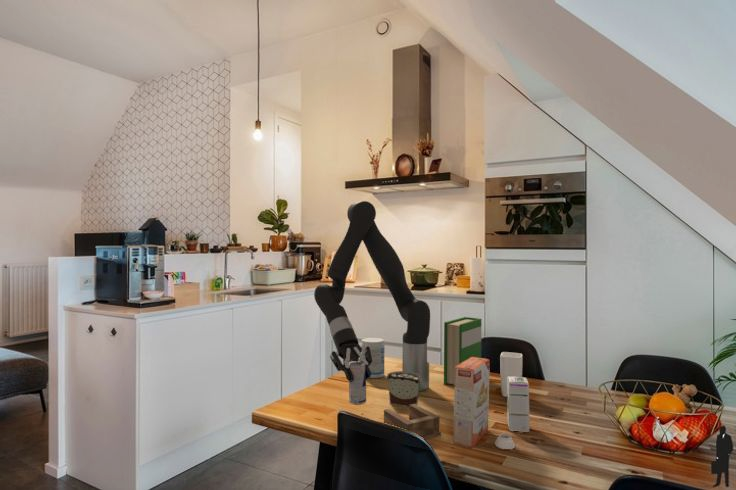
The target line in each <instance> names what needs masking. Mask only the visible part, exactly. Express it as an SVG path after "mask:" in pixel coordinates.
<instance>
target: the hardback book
mask: <svg viewBox="0 0 736 490" xmlns="http://www.w3.org/2000/svg"><path fill="white" fill-rule="evenodd" d="M443 323H444V324H443V329H444V331H443V337H444V338H443V385H444V386H447V385H454V386H455V367H456V366H457V365H459V364H461V363H462V362H464V361H466V360H467V359H469V358H471V357H477V358H482V318H478V317H468V316H464V317H460V318H456V319H452V320H448V321H444V322H443Z"/></svg>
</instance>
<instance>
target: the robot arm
mask: <svg viewBox="0 0 736 490" xmlns="http://www.w3.org/2000/svg"><path fill="white" fill-rule="evenodd" d="M346 214H347V216H346V217H347V219H348V222H349V225H348V227H347V230H346V233H345V236H344V237H343V240H342V242H341V243H340V245H339V246H338V248H337V250H336V252H335V253H334V255H333V258H332V260H331V262H330V265H329V268H328V270H327V277H328V278H329V279H331V280H332V282H331V283H332V284H331V285H329V284H325V283H320V284H319V285H316V288H315V289H314V294H313V295H314V301H315V303H316V305H317V306H318V308H319V309H320V311H321V312H322V314H323V315H324V317H325V319H326V322H327V324H328V326H329V332H330V335H331V337H332V341H333V343H334V346H335V349H336V351H331V353H330V355H329V358H330V360H331V361H332V363H333V365H334V367H335V368H336V370H337V372H343V373H344V375H345V378H346V380H347V381H348V383H349V382H352V381H353V379H354V378H353V375H352V372H351V370H350V368H349V365H350V363H352V362H363V363H365V365H366V380H369V379H371V378H370V376H371V372H370V369H369V366H370V364H371V363H372V357H371V352H370V347H368V346H367V347H366V348H362V347H361V345H360V343H359V340H358V337H357V335H356V332H355V329H354V327H353V325H352V322H351V321H350V319H349V317H348V314H347V311H346V309H345V308H344V306H342V305H341V304H342V301H343V299H344V296H345V295H344V294H345V292H346V291H345V290H346V282H347V281H346V280H347V277H348V275H349V272H350V271H351V267H352V266H353V263H354V260H355V257H356V255H357V252H358V250H359V248H360V246H361V244H362V242H363V244H364V246H365V249H366V250H367V252H368V255H369V256H370V259H371V261H372V263H373V265H374V267H375V269H376V271H377V272H378V274H379V276H380V277H381V279H382V280H383V282H384V284H385V286H386V287H387V289H388V290H389V293H390V294H391V296H392V299H393V301H394V302H395V306H396V308H397V310H398V313H399V315H400V317H401V319H403V320H404V321H405V322H407V326H406V327H407V328H406V332H403V335H402V364H401V366H402V367H401V368H402V370H401V371H407V372H413V373H416V374H418V375H420V378H421V381H422V384H421V385H420V386H419V392H422V391H426V390H427V389H429V388H430V363H429V361H428V337H429V335H430V330H431V329H430V328H431V310H430V305H428V302H426V301H424V300H422V299H421V300H420V299H417V298H416V297H415V296H414V294H413V293H412V292H413V291H412V290H410V288H409V285H408V283H407V278H406V271H405V268H404V265H403V262H402V261H401V259H400V257H399V255H398V254H397V252H396V250H395V249H394V248H393V246H392V245H391V243H390V242H389V241H388V240H387V239H386V238H385V236H384V235H383V234H382V233H381V231H380V229H379V228H378V226H377V224H376V221H375V219H376V216H377V211H376V208H375V206H374V205H373V203H371V202H369V201H367V200H358V201H355V202H352V203H351V204H350V205H349V207H348V209H347V213H346ZM361 352H363V355H365V359H364V356H363V355H362V354H361ZM340 358H341V359H342V361H341V359H340Z"/></svg>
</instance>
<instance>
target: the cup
mask: <svg viewBox="0 0 736 490" xmlns="http://www.w3.org/2000/svg"><path fill="white" fill-rule="evenodd" d="M499 361H500V363H499V364H500V365H499V366H500V367H499V369H500V370H499V372H500V375H499V376H500V387H501V396H503V397H504V398H507V377H512V376H516V377H523V353H519V352H509V351H502V352H501V353H500V356H499Z"/></svg>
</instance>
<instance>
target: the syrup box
mask: <svg viewBox="0 0 736 490" xmlns="http://www.w3.org/2000/svg"><path fill="white" fill-rule="evenodd" d="M529 392H530V383H529V381H528V379H527V377H524V376H522V377H516V376H512V377H507V397H506V399H507V400H506V401H507V402H506V403H507V405H506V407H507V408H506V412H507V413H506V414H507V415H506V419H507V420H506V423H507V426H508V427H509V428H508V431H509V430H510V431H509V432H513V431H522V432H521V433H523V432H529V433H530V393H529Z"/></svg>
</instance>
